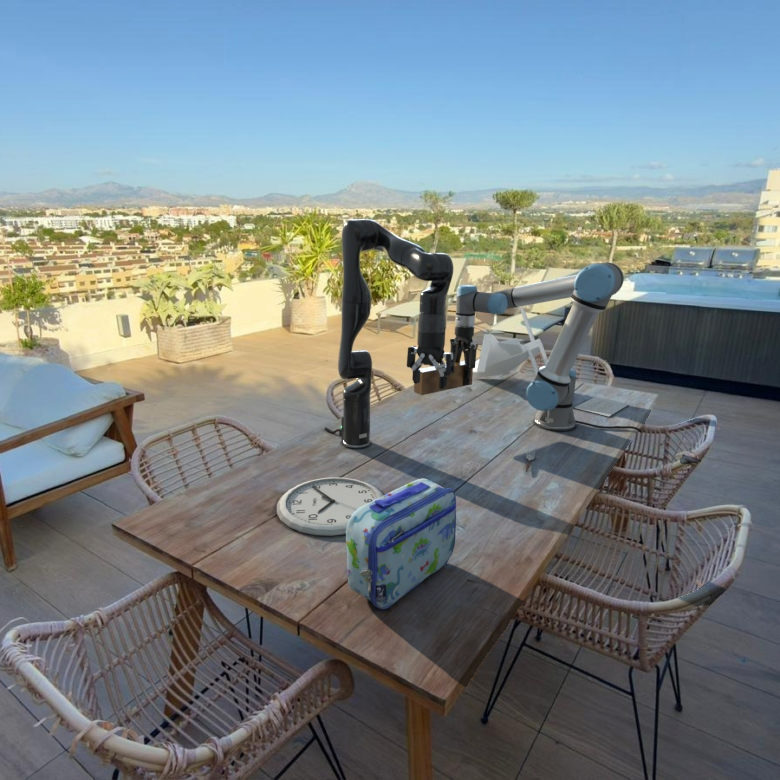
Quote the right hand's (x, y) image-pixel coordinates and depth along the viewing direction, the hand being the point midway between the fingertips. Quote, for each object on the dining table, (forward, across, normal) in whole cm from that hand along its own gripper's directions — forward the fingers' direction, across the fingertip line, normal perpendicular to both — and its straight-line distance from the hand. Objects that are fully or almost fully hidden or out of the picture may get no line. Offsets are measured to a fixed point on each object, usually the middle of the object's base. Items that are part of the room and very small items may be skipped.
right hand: (461, 382), depth 210 cm
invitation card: (+13, +27, +58) cm, 66 cm away
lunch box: (+13, +71, -83) cm, 110 cm away
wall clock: (+13, +35, -80) cm, 88 cm away
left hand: (-17, +39, -50) cm, 66 cm away
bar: (+1, 0, -9) cm, 9 cm away
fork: (+13, +48, -14) cm, 51 cm away
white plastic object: (+14, -18, +49) cm, 54 cm away
